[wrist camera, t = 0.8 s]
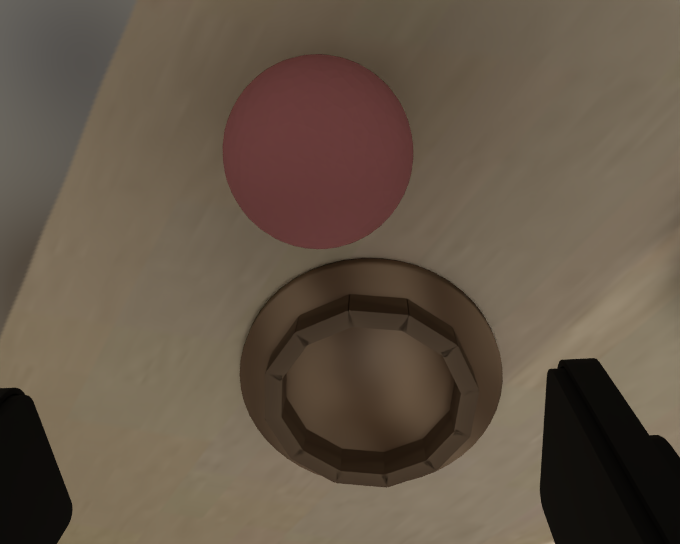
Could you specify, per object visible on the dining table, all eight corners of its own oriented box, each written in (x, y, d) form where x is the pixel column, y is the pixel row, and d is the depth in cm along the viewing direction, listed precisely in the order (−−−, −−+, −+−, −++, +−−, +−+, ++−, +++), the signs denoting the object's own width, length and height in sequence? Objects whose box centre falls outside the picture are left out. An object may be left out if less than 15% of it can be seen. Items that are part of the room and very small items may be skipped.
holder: (439, 213, 31) (445, 232, 28) (534, 427, 36) (548, 460, 33) (195, 321, 34) (179, 347, 31) (315, 501, 40) (311, 536, 37)
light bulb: (236, 100, 29) (153, 148, 18) (352, 15, 27) (338, 8, 16) (316, 211, 31) (285, 314, 20) (427, 139, 29) (461, 209, 18)
